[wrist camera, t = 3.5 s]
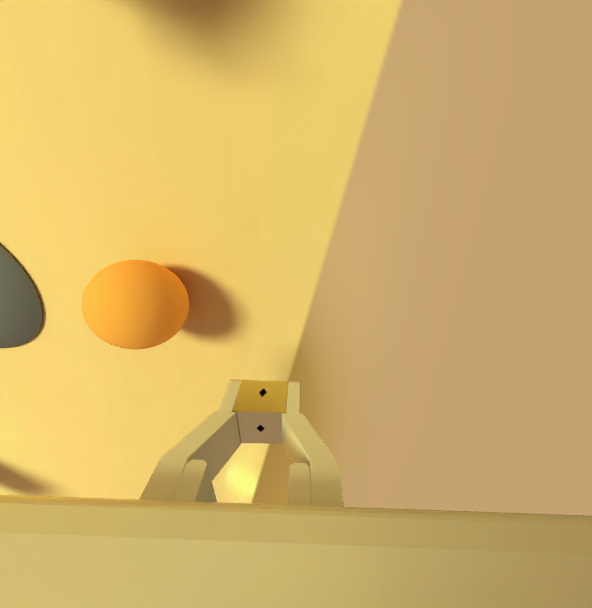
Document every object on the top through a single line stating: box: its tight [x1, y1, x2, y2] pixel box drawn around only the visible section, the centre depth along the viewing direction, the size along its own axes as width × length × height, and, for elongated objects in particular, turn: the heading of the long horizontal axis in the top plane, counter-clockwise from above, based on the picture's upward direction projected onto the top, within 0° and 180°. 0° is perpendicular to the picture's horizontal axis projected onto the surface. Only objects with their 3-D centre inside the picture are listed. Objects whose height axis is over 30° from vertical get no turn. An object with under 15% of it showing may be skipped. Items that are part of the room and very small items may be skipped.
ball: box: [82, 260, 189, 349], centre depth 16 cm, size 6×6×6 cm
